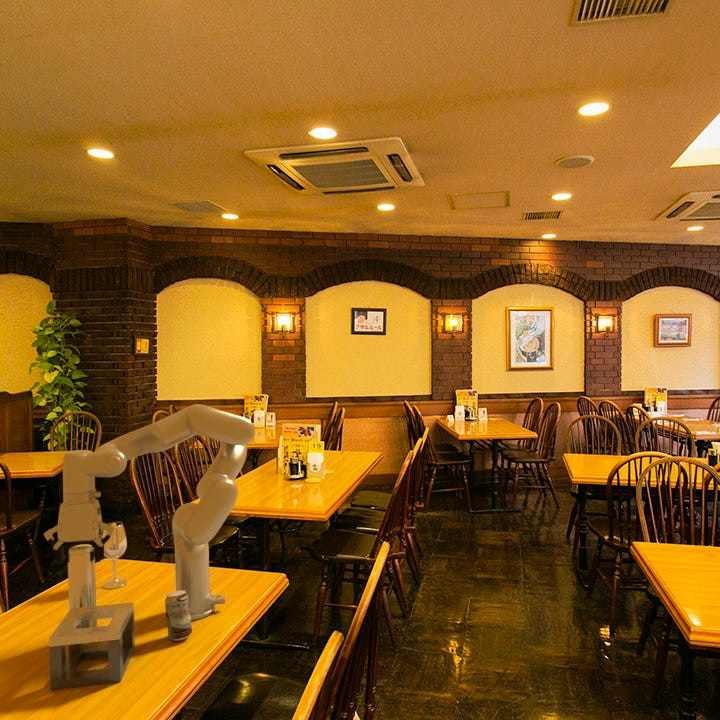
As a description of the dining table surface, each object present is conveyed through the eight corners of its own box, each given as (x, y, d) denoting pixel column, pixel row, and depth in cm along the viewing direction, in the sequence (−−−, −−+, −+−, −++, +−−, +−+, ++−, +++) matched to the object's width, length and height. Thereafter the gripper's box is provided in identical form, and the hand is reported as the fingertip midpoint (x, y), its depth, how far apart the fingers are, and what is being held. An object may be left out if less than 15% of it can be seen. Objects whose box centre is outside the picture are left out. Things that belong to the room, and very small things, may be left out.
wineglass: (121, 589, 181) (119, 528, 181) (97, 589, 181) (96, 528, 181) (131, 579, 189) (130, 520, 189) (108, 579, 189) (107, 521, 189)
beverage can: (179, 646, 145) (177, 600, 145) (160, 639, 149) (159, 594, 148) (197, 635, 150) (196, 591, 150) (179, 628, 154) (178, 585, 154)
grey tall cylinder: (86, 647, 145) (83, 552, 145) (64, 645, 146) (61, 550, 146) (102, 635, 151) (99, 543, 151) (81, 633, 153) (78, 542, 152)
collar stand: (134, 648, 144) (133, 602, 144) (120, 682, 129) (119, 630, 129) (72, 655, 141) (71, 608, 141) (50, 690, 127) (49, 638, 126)
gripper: (117, 492, 154) (118, 554, 154) (49, 495, 150) (50, 559, 151) (110, 499, 146) (111, 564, 146) (38, 502, 143) (39, 569, 143)
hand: (80, 561), depth 148 cm, fingers open, 9 cm apart
